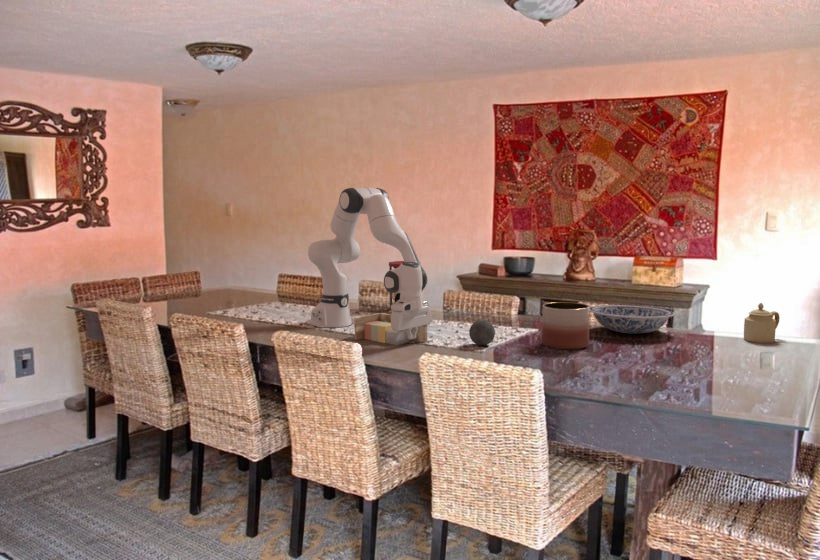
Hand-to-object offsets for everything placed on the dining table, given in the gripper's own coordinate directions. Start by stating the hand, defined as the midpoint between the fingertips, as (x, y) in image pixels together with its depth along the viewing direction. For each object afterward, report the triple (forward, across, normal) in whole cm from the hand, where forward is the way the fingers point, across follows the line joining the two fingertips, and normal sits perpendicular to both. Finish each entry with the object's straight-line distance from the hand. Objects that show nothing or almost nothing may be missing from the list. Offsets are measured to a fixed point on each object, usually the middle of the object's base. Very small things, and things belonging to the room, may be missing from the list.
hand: (412, 338), depth 259 cm
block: (+3, 0, -8) cm, 8 cm away
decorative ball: (+3, -17, +21) cm, 27 cm away
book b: (+2, 0, -17) cm, 17 cm away
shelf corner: (+2, 0, -12) cm, 12 cm away
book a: (+2, 0, -21) cm, 21 cm away
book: (+2, 0, -13) cm, 13 cm away
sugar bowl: (+4, -96, +100) cm, 139 cm away
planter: (+3, -37, +46) cm, 59 cm away
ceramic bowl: (+3, -76, +55) cm, 94 cm away
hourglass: (+2, -57, -56) cm, 80 cm away
